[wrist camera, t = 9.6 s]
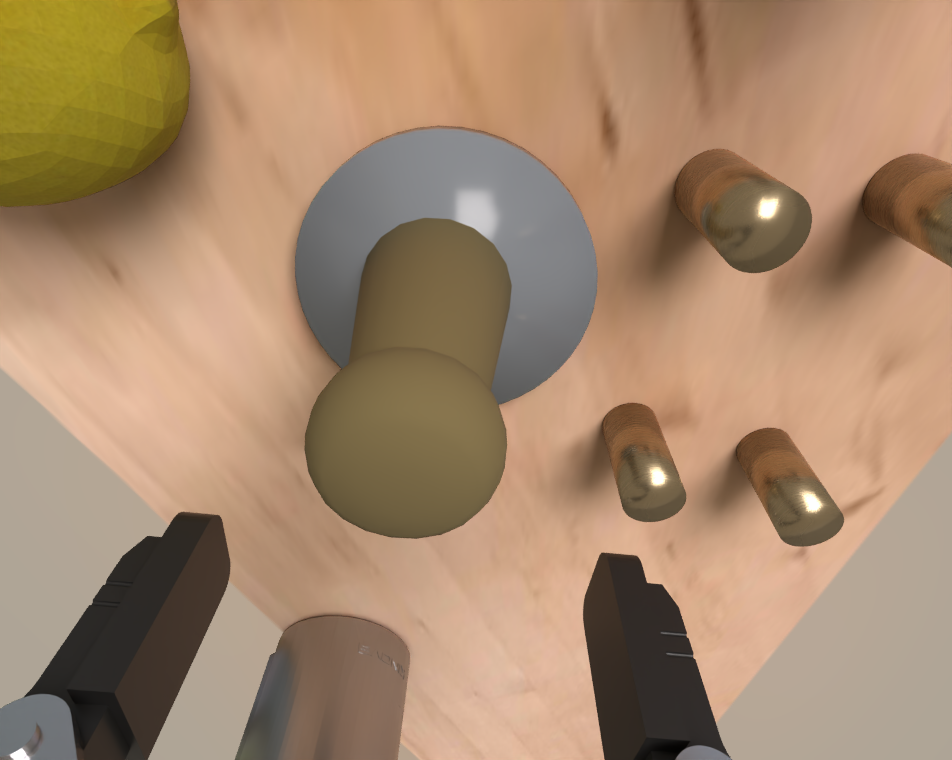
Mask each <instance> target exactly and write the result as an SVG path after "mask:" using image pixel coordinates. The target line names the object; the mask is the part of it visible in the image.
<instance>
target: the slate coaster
mask: <svg viewBox="0 0 952 760" xmlns="http://www.w3.org/2000/svg"><path fill="white" fill-rule="evenodd" d="M421 218H440V219H451V220H454V221H456V222H459V223H462V224H464V225H467V226H470V227H472V228H474V229H476V230H477V231H478V232H479V233H481V234H482V235H483V236H484V237H486V238H487V239H488V240H489V241H491V242H492V243H493V244H494V245H495V247H496V248H497V250H498V251H499V253H500V255H501V256H502V258H503V259H504V261H505V262H506V264H507V268H508V272H509V276H510V280H511V284H512V289H511V300H510V308H509V313H508V317H507V322H506V326H505V330H504V335H503V339H502V344H501V348H500V353H499V357H498V361H497V366H496V370H495V375H494V379H493V384H492V388H491V392H492V393H493V394H494V397H495V399H496V401H497V403H498V405H499V404H502V403H505V402H508V401H510V400H513V399H515V398H518V397H520V396H522V395H523V394H525V393H527V392H529V391H531V390H533V389H534V388H536V387H537V386H539V385H540V384H541V383H543V382H544V381H546V380H547V379H548V378H549V377H551V376H552V375H553V374H554V373H555V372H556V371H557V370H558V369H559V368H560V367H561V366H562V365H563V364H564V363H565V362H566V361H567V359H568V358H569V357H570V356H571V355H572V353H573V352H574V350H575V349H576V347H577V346H578V344H579V343H580V341H581V339H582V337H583V335H584V333H585V331H586V329H587V327H588V324H589V321H590V318H591V315H592V312H593V309H594V304H595V298H596V293H597V263H596V254H595V250H594V246H593V242H592V238H591V235H590V232H589V230H588V227H587V225H586V223H585V220H584V218H583V215H582V213H581V211H580V208H579V207H578V205H577V203H576V201H575V200H574V198H573V196H572V195H571V193H570V191H569V190H568V189H567V188H566V186H565V185H564V184H563V183H562V181H561V180H560V179H559V178H558V176H557V175H556V174H555V173H554V172H553V171H552V170H551V169H549V168H548V167H547V166H546V165H545V164H544V163H543V162H542V161H541V160H539V159H538V158H537V157H535V156H534V155H532V154H531V153H529V152H528V151H527V150H525V149H524V148H522V147H520V146H518V145H516V144H514V143H512V142H510V141H508V140H506V139H504V138H502V137H499V136H496V135H493V134H490V133H487V132H484V131H480V130H475V129H470V128H464V127H454V126H431V127H420V128H414V129H410V130H406V131H402V132H398V133H395V134H392V135H390V136H387V137H385V138H382V139H380V140H377V141H375V142H373V143H372V144H370V145H368V146H367V147H365V148H363V149H362V150H360V151H358V152H357V153H356V154H354V155H353V156H352V157H351V158H350V159H348V160H347V161H346V162H345V163H343V164H342V165H341V166H340V167H339V169H338V170H337V171H336V172H335V173H334V174H333V175H332V176H331V177H330V178H329V180H328V181H327V182H326V183H325V184H324V185H323V186H322V188H321V189H320V191H319V192H318V194H317V195H316V197H315V198H314V200H313V201H312V203H311V205H310V207H309V209H308V211H307V213H306V215H305V218H304V220H303V223H302V226H301V230H300V233H299V236H298V241H297V248H296V256H295V277H296V283H297V290H298V295H299V299H300V302H301V306H302V309H303V312H304V314H305V317H306V319H307V321H308V323H309V326H310V328H311V330H312V331H313V333H314V335H315V336H316V338H317V340H318V341H319V343H320V344H321V346H322V347H323V348H324V349H325V351H326V352H327V353H328V354H329V356H330V357H331V358H332V359H333V360H334V361H335V362H336V363H337V364H338V365H339V366H340V367H341V368H342V369H343V368H344V367H345V366H346V365H348V363H349V356H350V349H351V343H352V336H353V329H354V322H355V316H356V309H357V302H358V295H359V288H360V282H361V276H362V272H363V269H364V265H365V262H366V258H367V255H368V254H369V253H370V251H371V250H372V248H373V247H374V246H375V244H376V243H377V242H378V240H379V239H380V238H381V237H382V236H383V235H385V234H386V233H388V232H389V231H391V230H392V229H394V228H395V227H397V226H398V225H400V224H403V223H406V222H410V221H414V220H418V219H421Z"/></svg>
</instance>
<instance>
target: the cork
mask: <svg viewBox="0 0 952 760" xmlns="http://www.w3.org/2000/svg"><path fill="white" fill-rule="evenodd" d="M511 289H512V284H511V280H510V276H509V272H508V268H507V264H506V262H505V261H504V259H503V258H502V256H501V255H500V253H499V251H498V250H497V248H496V247H495V245H494V244H493V243H492V242H491V241H489V240H488V239H487V238H486V237H484V236H483V235H482V234H481V233H479V232H478V231H477V230H476V229H474V228H472V227H470V226H467V225H464V224H462V223H459V222H456V221H454V220H451V219H440V218H421V219H418V220H414V221H410V222H406V223H403V224H400V225H398V226H397V227H395V228H394V229H392V230H391V231H389V232H388V233H386V234H385V235H383V236H382V237H381V238H380V239H379V240H378V242H377V243H376V244H375V246H374V247H373V248H372V250H371V251H370V253H369V254H368V255H367V258H366V262H365V265H364V269H363V272H362V276H361V282H360V288H359V295H358V302H357V309H356V316H355V322H354V329H353V336H352V343H351V349H350V356H349V363H348V365H346V366H345V367H344V368H343V369H341V370H340V371H339V372H338V373H337V374H336V375H335V376H334V377H333V379H332V380H331V381H330V382H329V384H328V385H327V386H326V387H325V389H324V390H323V391H322V392H321V394H320V395H319V396H318V398H317V400H316V402H315V404H314V406H313V409H312V411H311V415H310V419H309V422H308V426H307V430H306V434H305V454H306V460H307V466H308V472H309V474H310V476H311V479H312V481H313V483H314V485H315V487H316V488H317V490H318V492H319V493H320V495H321V497H322V498H323V500H324V502H325V503H326V504H327V505H328V506H329V507H330V508H331V509H332V510H334V511H335V512H336V513H337V514H338V515H339V516H340V517H341V518H343V519H344V520H346V521H348V522H350V523H352V524H354V525H356V526H358V527H359V528H361V529H363V530H365V531H369V532H373V533H376V534H380V535H384V536H388V537H395V538H415V539H417V538H423V537H429V536H435V535H441V534H444V533H446V532H448V531H451V530H453V529H455V528H458V527H460V526H462V525H464V524H465V523H466V522H467V521H468V520H470V519H471V518H472V517H473V516H474V515H476V514H477V513H478V512H479V511H480V510H481V509H482V508H483V507H484V506H485V505H486V504H487V503H488V502H489V500H490V499H491V497H492V495H493V493H494V491H495V490H496V488H497V486H498V484H499V483H500V480H501V477H502V474H503V471H504V468H505V459H506V449H507V436H506V428H505V424H504V421H503V418H502V415H501V411H500V408H499V405H498V403H497V401H496V399H495V397H494V394H493V393H492V392H491V388H492V384H493V379H494V375H495V370H496V366H497V361H498V357H499V353H500V348H501V344H502V339H503V335H504V330H505V326H506V322H507V317H508V313H509V308H510V300H511Z"/></svg>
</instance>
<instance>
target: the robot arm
mask: <svg viewBox="0 0 952 760" xmlns="http://www.w3.org/2000/svg"><path fill="white" fill-rule="evenodd" d="M229 575H230V558H229V553H228V548H227V543H226V538H225V533H224V528H223V522H222V519H221V517H220V516H219V515H211V514H201V513H190V512H180V513H178V514H177V515H176V516H175V517H174V519H173V520H172V522H171V523H170V525H169V527H168V528H167V530H166V531H165V533H164V535H163V536H162V537H153V536H147V537H146V538H145V539H143V540H142V541H141V542H140V543H138V544H137V545H136V546H135V547H133V548H132V549H131V550H130V551H128V552H127V553H126V554H125V555H123V556H122V558H121V559H120V561H119V562H118V564H117V565H116V567H115V568H114V570H113V571H112V573H111V574H110V576H109V577H108V579H107V581H106V584H105V585H103V586H102V587H101V589H100V590H99V592H98V594H97V595H96V596H95V598H94V599H93V603H92V605H89V607H88V608H87V609H86V611H85V612H84V614H83V615H82V617H81V618H80V620H79V621H78V623H77V624H76V626H75V627H74V629H73V630H72V631H71V633H70V634H69V636H68V637H67V639H66V640H65V642H64V643H63V645H62V646H61V647H60V649H59V650H58V652H57V653H56V655H55V656H54V658H53V659H52V661H51V662H50V664H49V665H48V667H47V668H46V669H45V671H44V673H43V674H42V675H41V677H40V679H39V680H38V681H37V682H36V684H35V685H34V686H33V688H32V689H31V690H30V691H29V692H28V693H27V694H26V695H25V696H24V697H23V698H21V699H18V700H16V701H13V702H11V703H9V704H7V705H5V706H4V707H2V708H1V709H0V760H148V757H149V755H150V753H151V751H152V749H153V747H154V744H155V742H156V740H157V738H158V736H159V734H160V731H161V729H162V727H163V725H164V723H165V721H166V718H167V716H168V714H169V712H170V709H171V707H172V705H173V703H174V701H175V699H176V697H177V695H178V692H179V690H180V688H181V686H182V684H183V681H184V679H185V677H186V675H187V673H188V671H189V668H190V666H191V664H192V662H193V660H194V658H195V656H196V653H197V651H198V649H199V647H200V645H201V643H202V640H203V638H204V636H205V634H206V632H207V629H208V627H209V625H210V623H211V621H212V619H213V616H214V614H215V612H216V609H217V608H218V606H219V603H220V601H221V599H222V597H223V595H224V592H225V590H226V587H227V584H228V580H229ZM583 621H584V629H585V636H586V642H587V649H588V655H589V662H590V668H591V674H592V681H593V687H594V694H595V700H596V707H597V713H598V720H599V726H600V733H601V739H602V746H603V752H604V758H605V760H732V759H731V758H730V756H729V755H728V753H727V751H726V749H725V747H724V746H723V743H722V741H721V738H720V735H719V732H718V729H717V726H716V722H715V719H714V716H713V713H712V710H711V707H710V704H709V701H708V697H707V694H706V691H705V688H704V685H703V682H702V679H701V676H700V672H699V669H698V666H697V663H696V660H695V659H694V658H693V651H692V647H691V644H690V641H689V638H687V636H686V634H687V632H686V629H685V626H684V622H683V619H682V616H681V613H680V610H679V607H678V606H677V604H676V603H675V602H674V600H673V599H672V598H671V596H670V595H669V593H668V592H667V591H666V589H665V588H664V587H663V585H662V584H651V583H647V581H646V578H645V574H644V571H643V567H642V564H641V561H640V559H639V558H638V557H637V556H634V555H623V554H613V553H601V554H600V556H599V558H598V561H597V564H596V567H595V569H594V572H593V575H592V578H591V581H590V583H589V586H588V589H587V592H586V595H585V599H584V607H583ZM409 665H410V653H409V651H408V648H407V646H406V645H405V644H404V642H403V641H402V640H401V639H400V638H399V637H398V636H396V635H395V634H394V633H393V632H391V631H389V630H388V629H386V628H384V627H382V626H380V625H377V624H374V623H372V622H369V621H366V620H361V619H357V618H352V617H343V616H323V617H316V618H310V619H307V620H304V621H300V622H298V623H296V624H294V625H292V626H291V627H289V628H288V629H287V630H286V631H285V632H284V633H283V634H282V636H281V638H280V640H279V643H278V646H277V649H276V652H275V653H273V654H271V655H270V657H269V661H268V663H267V666H266V670H265V672H264V675H263V678H262V681H261V684H260V687H259V690H258V693H257V696H256V699H255V702H254V705H253V708H252V711H251V714H250V717H249V720H248V723H247V726H246V728H245V731H244V734H243V737H242V740H241V743H240V746H239V749H238V752H237V755H236V758H235V760H398V752H399V744H400V736H401V728H402V721H403V713H404V705H405V697H406V689H407V681H408V673H409Z"/></svg>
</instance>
